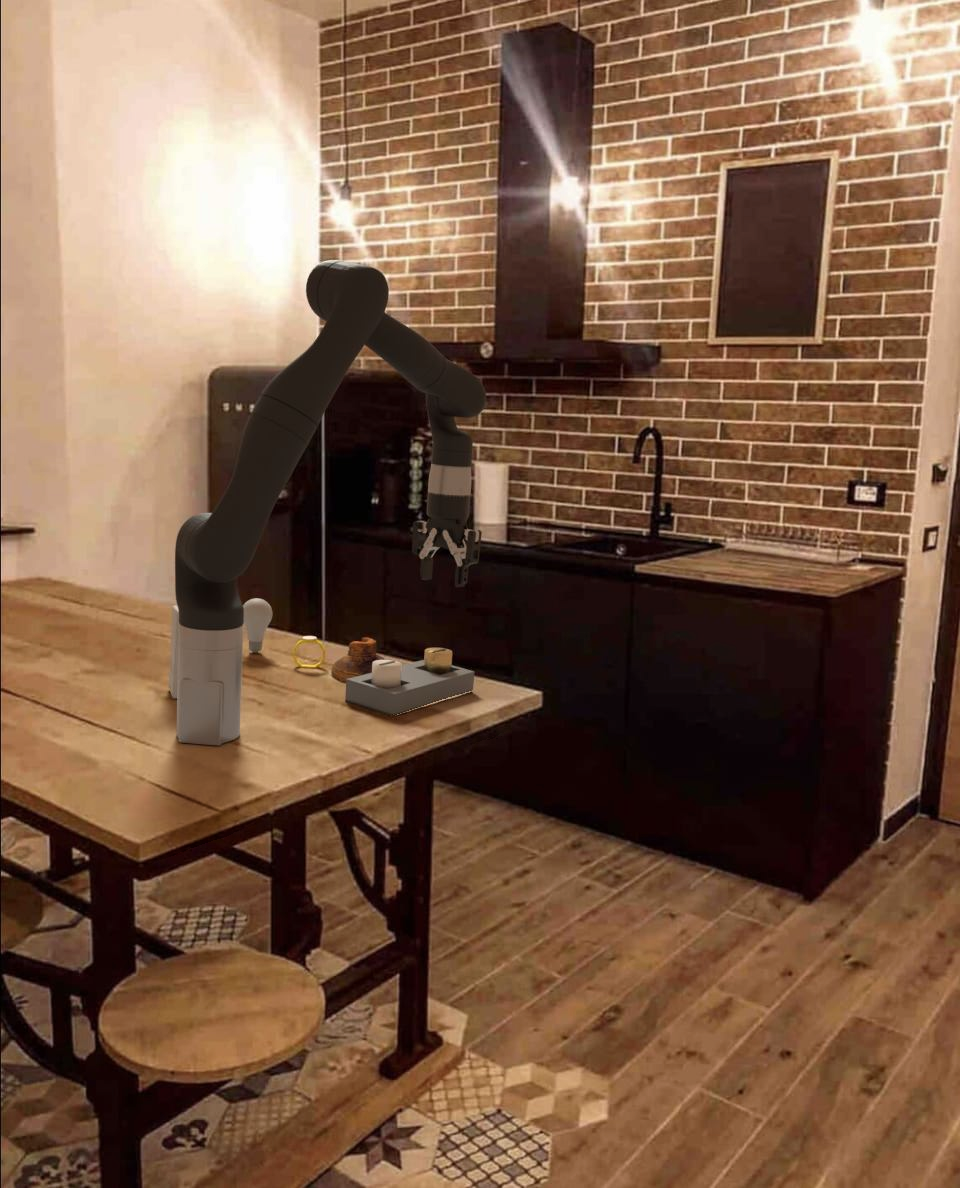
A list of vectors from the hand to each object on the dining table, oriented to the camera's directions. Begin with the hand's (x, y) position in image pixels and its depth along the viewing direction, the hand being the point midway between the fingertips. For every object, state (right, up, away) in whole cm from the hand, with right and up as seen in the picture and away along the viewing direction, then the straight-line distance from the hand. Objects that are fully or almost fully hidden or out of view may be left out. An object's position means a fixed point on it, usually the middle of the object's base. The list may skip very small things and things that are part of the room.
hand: (442, 582), depth 181 cm
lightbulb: (-38, -14, +19) cm, 45 cm away
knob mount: (-6, -20, -2) cm, 21 cm away
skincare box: (-42, -19, -9) cm, 47 cm away
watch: (-26, -16, +12) cm, 33 cm away
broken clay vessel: (-15, -18, +9) cm, 25 cm away
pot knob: (-9, -18, -8) cm, 22 cm away
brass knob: (-1, -16, +3) cm, 17 cm away
